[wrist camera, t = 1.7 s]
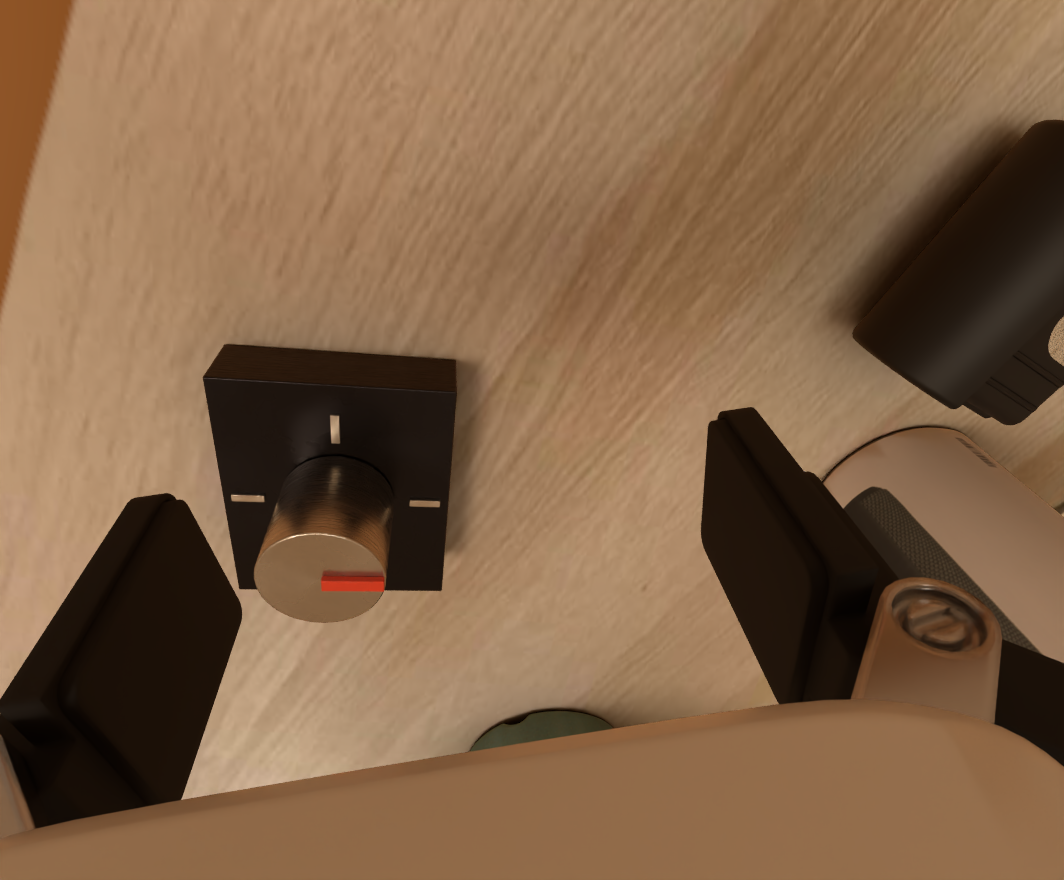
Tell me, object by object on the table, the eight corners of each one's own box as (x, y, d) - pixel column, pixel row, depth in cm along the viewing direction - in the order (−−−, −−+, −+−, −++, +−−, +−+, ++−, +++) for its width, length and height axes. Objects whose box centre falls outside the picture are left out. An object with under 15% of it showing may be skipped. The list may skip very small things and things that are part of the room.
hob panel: (254, 547, 34) (238, 592, 31) (224, 343, 27) (200, 378, 25) (441, 551, 36) (441, 593, 33) (456, 359, 29) (456, 393, 26)
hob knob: (285, 539, 30) (258, 629, 26) (276, 453, 27) (243, 537, 23) (393, 541, 31) (385, 628, 26) (395, 458, 28) (385, 540, 24)
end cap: (992, 104, 25) (1145, 131, 20) (1088, 192, 28) (1248, 238, 22) (819, 313, 30) (904, 382, 24) (916, 372, 32) (1013, 447, 27)
